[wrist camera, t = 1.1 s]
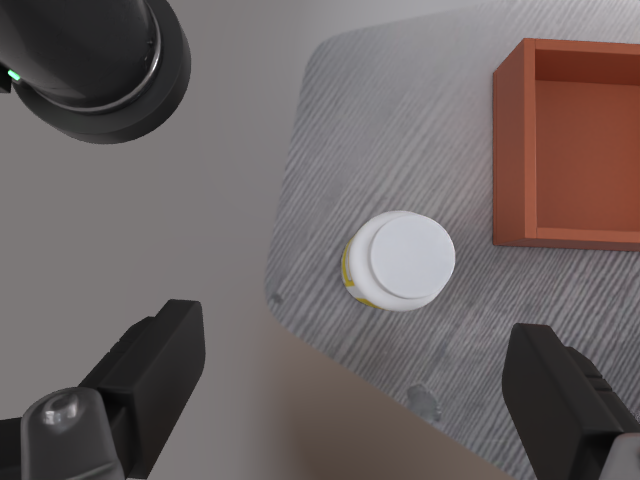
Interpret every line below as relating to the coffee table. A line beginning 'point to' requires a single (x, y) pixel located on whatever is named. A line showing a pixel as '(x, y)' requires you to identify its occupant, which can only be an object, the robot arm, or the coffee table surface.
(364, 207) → the coffee table surface
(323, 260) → the coffee table surface
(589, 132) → the terracotta bin
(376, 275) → the supplement bottle
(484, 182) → the coffee table surface
